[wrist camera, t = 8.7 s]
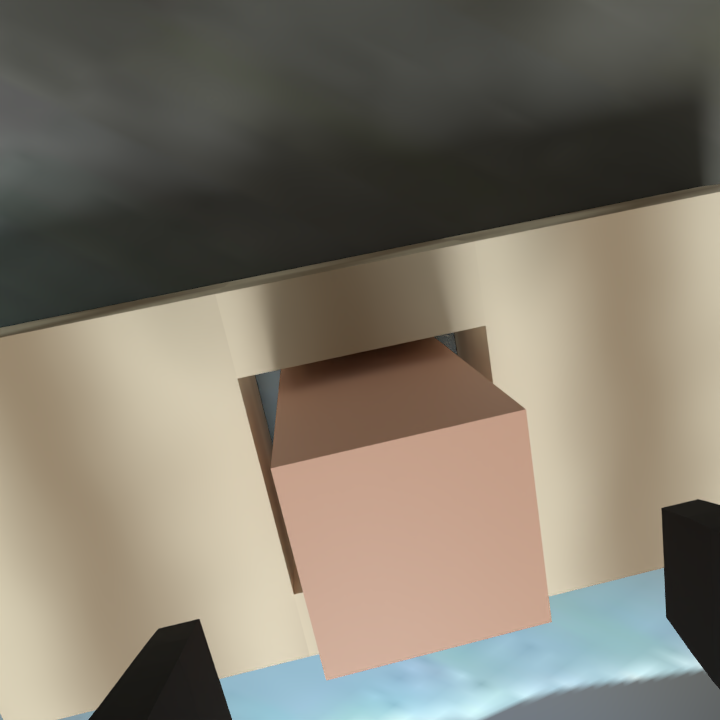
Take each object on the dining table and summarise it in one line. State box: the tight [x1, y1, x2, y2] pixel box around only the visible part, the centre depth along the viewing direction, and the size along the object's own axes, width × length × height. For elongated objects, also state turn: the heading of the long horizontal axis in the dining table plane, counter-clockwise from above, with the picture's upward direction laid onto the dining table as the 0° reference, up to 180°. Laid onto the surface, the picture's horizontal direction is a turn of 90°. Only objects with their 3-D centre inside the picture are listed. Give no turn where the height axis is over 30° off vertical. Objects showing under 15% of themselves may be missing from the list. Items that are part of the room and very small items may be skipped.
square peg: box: [271, 337, 552, 680], centre depth 13 cm, size 4×4×7 cm
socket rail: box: [0, 184, 720, 720], centre depth 15 cm, size 22×10×3 cm, turn 101°
